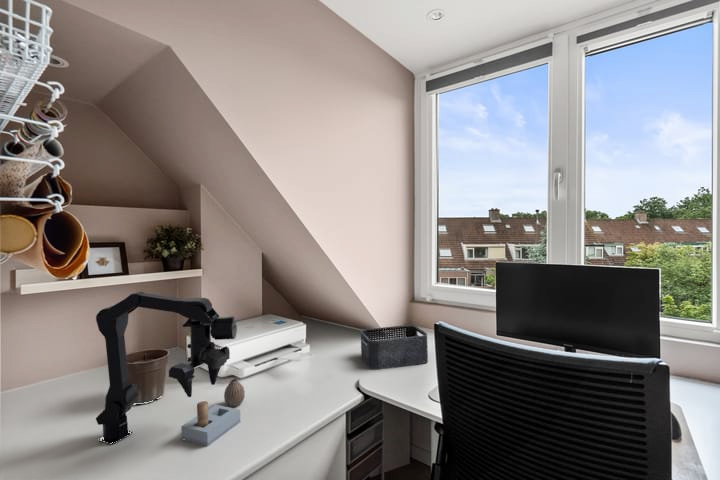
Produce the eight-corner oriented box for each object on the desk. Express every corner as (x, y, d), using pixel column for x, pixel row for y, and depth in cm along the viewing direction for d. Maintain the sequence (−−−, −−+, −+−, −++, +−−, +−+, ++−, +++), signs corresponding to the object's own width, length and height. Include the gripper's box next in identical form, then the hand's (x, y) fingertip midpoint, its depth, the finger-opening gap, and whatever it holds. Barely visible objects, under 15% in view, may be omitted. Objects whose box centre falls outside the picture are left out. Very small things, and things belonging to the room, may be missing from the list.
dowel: (195, 434, 108) (194, 405, 108) (203, 429, 111) (202, 400, 111) (203, 436, 107) (202, 406, 107) (211, 431, 110) (209, 402, 110)
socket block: (181, 439, 108) (181, 426, 108) (216, 416, 121) (215, 404, 121) (207, 446, 104) (207, 432, 104) (240, 421, 117) (240, 409, 117)
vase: (237, 398, 134) (237, 374, 134) (248, 403, 130) (248, 379, 129) (220, 405, 129) (219, 380, 128) (231, 411, 124) (230, 385, 124)
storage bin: (370, 371, 158) (370, 340, 158) (359, 356, 177) (358, 329, 177) (430, 363, 166) (430, 334, 165) (413, 350, 184) (413, 324, 184)
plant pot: (171, 385, 146) (170, 345, 146) (169, 402, 132) (168, 358, 131) (124, 393, 139) (122, 352, 139) (116, 412, 125) (114, 366, 124)
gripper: (195, 352, 99) (197, 409, 100) (242, 334, 117) (243, 382, 117) (166, 348, 104) (168, 402, 104) (215, 331, 121) (216, 377, 121)
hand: (201, 390), depth 112 cm, fingers open, 9 cm apart
